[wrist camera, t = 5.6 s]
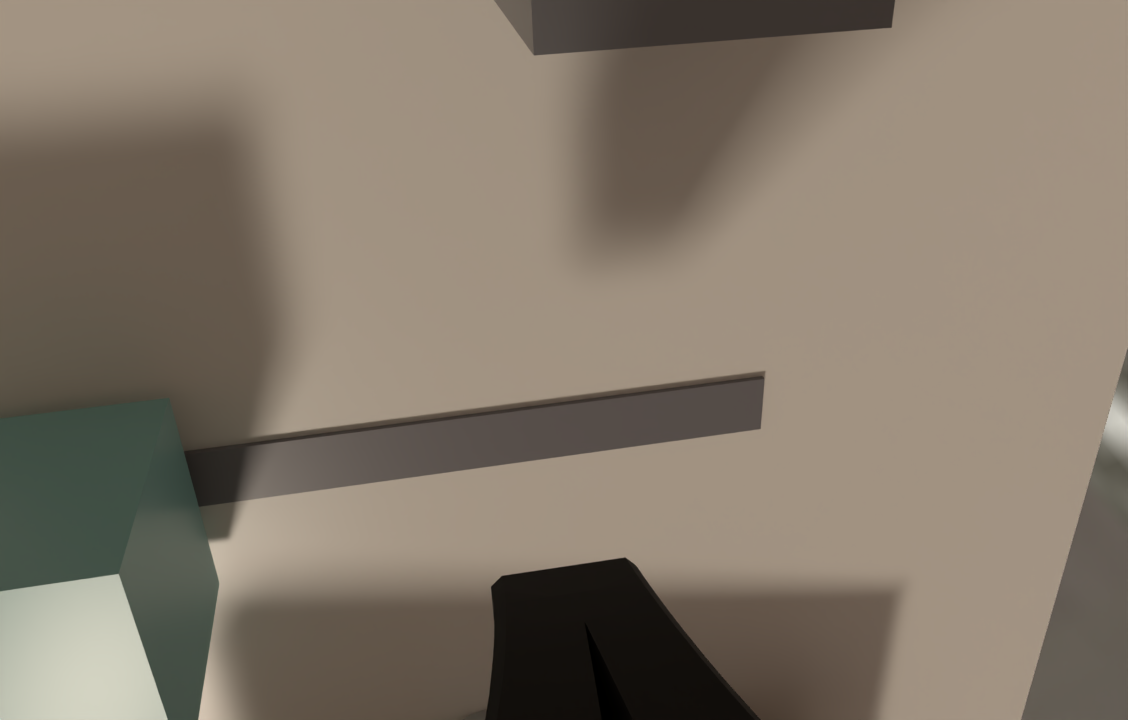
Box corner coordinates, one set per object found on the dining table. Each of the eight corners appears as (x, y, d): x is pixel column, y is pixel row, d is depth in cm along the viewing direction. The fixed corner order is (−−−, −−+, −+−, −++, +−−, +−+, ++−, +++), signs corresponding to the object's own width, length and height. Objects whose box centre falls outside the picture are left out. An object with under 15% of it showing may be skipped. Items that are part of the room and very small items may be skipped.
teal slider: (169, 397, 11) (118, 574, 9) (219, 583, 13) (189, 781, 10) (-97, 430, 11) (-231, 625, 8) (-15, 617, 12) (-108, 834, 10)
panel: (1290, -545, 10) (1628, -665, 8) (921, 923, 23) (998, 1073, 21) (-465, -568, 8) (-881, -754, 5) (212, 1079, 21) (193, 1272, 18)
